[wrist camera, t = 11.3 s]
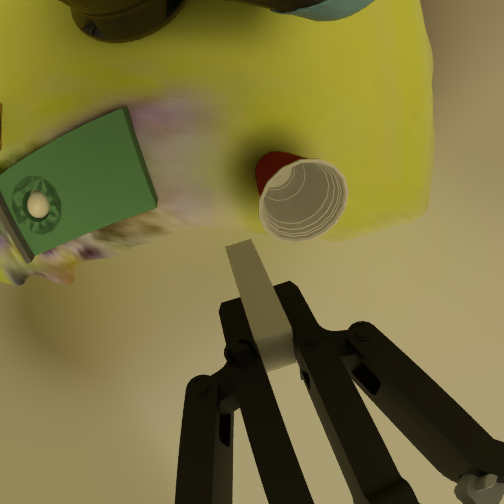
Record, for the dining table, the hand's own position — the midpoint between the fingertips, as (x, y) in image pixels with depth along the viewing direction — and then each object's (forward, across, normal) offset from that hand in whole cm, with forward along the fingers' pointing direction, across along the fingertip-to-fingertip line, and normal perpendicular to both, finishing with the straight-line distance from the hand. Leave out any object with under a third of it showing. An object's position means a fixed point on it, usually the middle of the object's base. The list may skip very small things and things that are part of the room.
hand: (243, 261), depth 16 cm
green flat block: (+24, -19, +3) cm, 31 cm away
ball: (+22, -25, +3) cm, 33 cm away
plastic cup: (+25, +9, -5) cm, 27 cm away
